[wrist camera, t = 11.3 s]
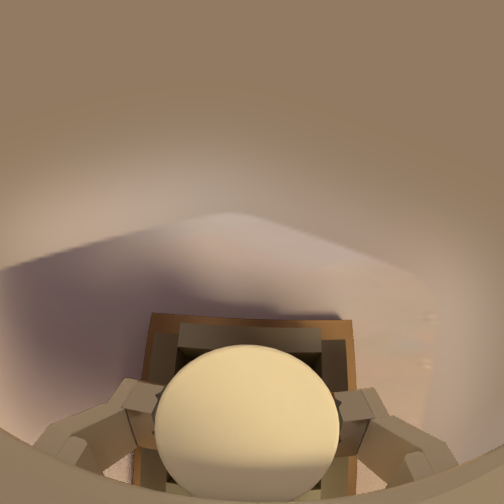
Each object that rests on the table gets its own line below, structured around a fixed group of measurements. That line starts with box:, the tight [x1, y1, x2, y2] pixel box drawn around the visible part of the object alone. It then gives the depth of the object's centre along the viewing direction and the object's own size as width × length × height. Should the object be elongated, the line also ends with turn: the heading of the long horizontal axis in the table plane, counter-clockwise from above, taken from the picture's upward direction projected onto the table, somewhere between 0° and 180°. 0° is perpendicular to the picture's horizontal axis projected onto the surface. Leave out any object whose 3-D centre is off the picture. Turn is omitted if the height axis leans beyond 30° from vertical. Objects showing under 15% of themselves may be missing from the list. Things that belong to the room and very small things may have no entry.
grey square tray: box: [133, 313, 357, 502], centre depth 12 cm, size 12×12×4 cm
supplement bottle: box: [154, 345, 339, 502], centre depth 9 cm, size 5×5×10 cm
